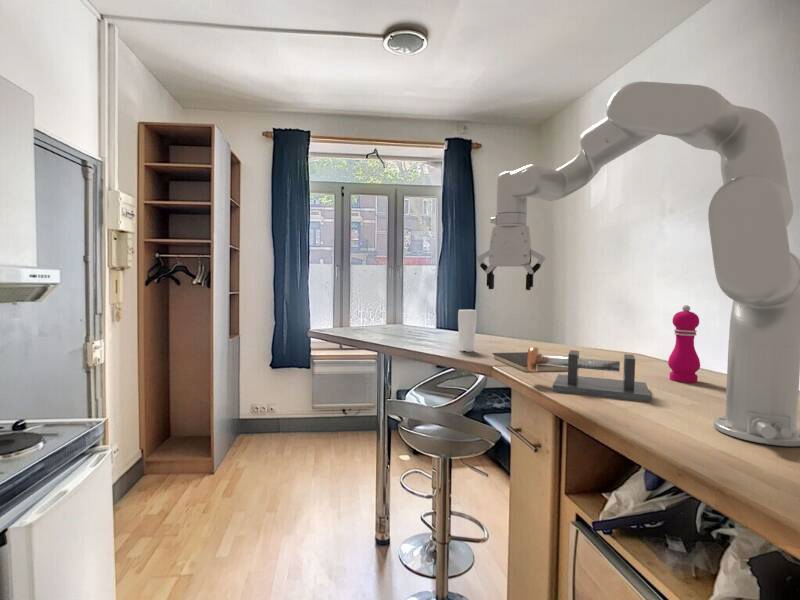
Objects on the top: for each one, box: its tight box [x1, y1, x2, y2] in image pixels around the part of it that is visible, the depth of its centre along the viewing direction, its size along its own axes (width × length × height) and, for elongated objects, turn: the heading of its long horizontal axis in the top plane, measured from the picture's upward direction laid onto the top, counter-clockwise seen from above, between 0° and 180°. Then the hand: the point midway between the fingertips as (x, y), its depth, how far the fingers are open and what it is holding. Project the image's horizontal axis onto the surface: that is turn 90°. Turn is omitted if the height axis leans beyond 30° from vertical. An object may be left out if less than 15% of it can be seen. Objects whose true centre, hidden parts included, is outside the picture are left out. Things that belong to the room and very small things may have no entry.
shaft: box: [527, 346, 621, 373], centre depth 109 cm, size 20×6×6 cm, turn 66°
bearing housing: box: [552, 349, 652, 403], centre depth 107 cm, size 20×14×8 cm
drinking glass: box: [457, 309, 478, 353], centre depth 164 cm, size 7×7×15 cm
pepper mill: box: [667, 304, 701, 384], centre depth 119 cm, size 7×7×20 cm
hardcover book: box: [492, 351, 568, 373], centre depth 141 cm, size 16×23×2 cm
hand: (509, 289), depth 115 cm, fingers open, 9 cm apart
